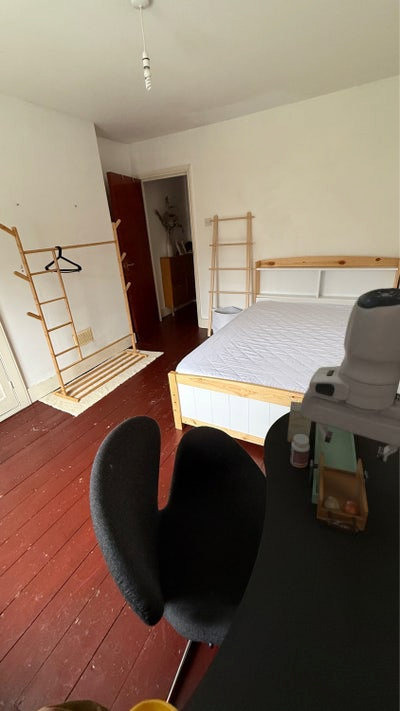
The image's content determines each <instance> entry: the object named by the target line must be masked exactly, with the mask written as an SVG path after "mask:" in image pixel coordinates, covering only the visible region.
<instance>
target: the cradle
mask: <svg viewBox="0 0 400 711" xmlns="http://www.w3.org/2000/svg"><path fill="white" fill-rule="evenodd" d="M314 468H315V469H318V464H315V463H314V459H311V460H310V464H309V472H308V479H307V480H308V481H307V487H308V488H311V481H312V476H313V469H314ZM368 475H369V473H368V471H367V470H365V471H364V472H363V476H364V483H365V490H366V489H367V485H368V482H369V481H368V480H369V476H368ZM319 528H320V529H324V530H328V531H331V532H334V533H339V534H342V535H346V536H350V537H352V536H353V533H351V532H348V531H344V530H340V529H337V528H333V527H329V526H328V525H327V524H326V520H322V519H319Z"/></svg>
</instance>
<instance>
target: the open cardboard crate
mask: <svg viewBox="0 0 400 711" xmlns="http://www.w3.org/2000/svg"><path fill="white" fill-rule="evenodd" d="M323 461H324V452H322V451H321V455H320V462H319V472H318V501H317V504H316V505H317V506H316V519H319V520H320V519H322V520H326V524H327V525H328V526H329V527H333V528H337V529H340V530H344V531H348V532H351V533H352V534H356V535H357V534H359V533H360V531H364V530H365V526H366V523H367V519H368V514H369V507H368V506H369V505H368V500H367V492H366V489H365V483H364V476H363V474H364V469H363V462H362V458H358V459H357V468H356V472H351V471H346V470H341V469H336V468H332V467H327V466H323ZM327 496H331V497H334V498H335V499H336V500H337V501H338V503H339V509H338V511H336V510H332V509H328V508H324V507H323V505H322V503H323V499H324V498H325V497H327ZM347 501H352V502H354V503H355V504H357V506H358V507H359V510H360V513H359V516H355V515H351V514H347V513H343V511H342V506H343V504H344V503H345V502H347Z"/></svg>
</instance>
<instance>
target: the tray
mask: <svg viewBox="0 0 400 711" xmlns="http://www.w3.org/2000/svg"><path fill="white" fill-rule="evenodd" d="M326 426H327V425H326ZM327 428H328V430H329V431H332V432H333V434H332V439H331V442H330V443H327V442H324V441H322V437H323V434H322V433H321V431H320V429H319V428H318V423H317V422H315V434H314V435H315V436H314V454H313V463H315V464H318V469H315V468H313V472H312V476H313V477H312V495H311V503H312V504H316V505H317V501H318V472H319V462H320V455H321V451H322V452H324V461H323V466H327V467H332V468H336V469H341V470H346V471H351V472H356V468H357V463H358V461H357V455H356V454H357V453H356V446H355V437H354V435H355V434H353V433H350V432H347V431H343V430H340V429H337V428H333V427H330V426H327Z"/></svg>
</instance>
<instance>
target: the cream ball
mask: <svg viewBox="0 0 400 711" xmlns="http://www.w3.org/2000/svg"><path fill="white" fill-rule="evenodd" d="M322 505H323V507H324V508H328V509H332V510H336V511H338V509H339V503H338V501H337V500H336V499H335V498H334V497H331V496H327V497H325V498H324V499H323V503H322Z"/></svg>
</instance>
